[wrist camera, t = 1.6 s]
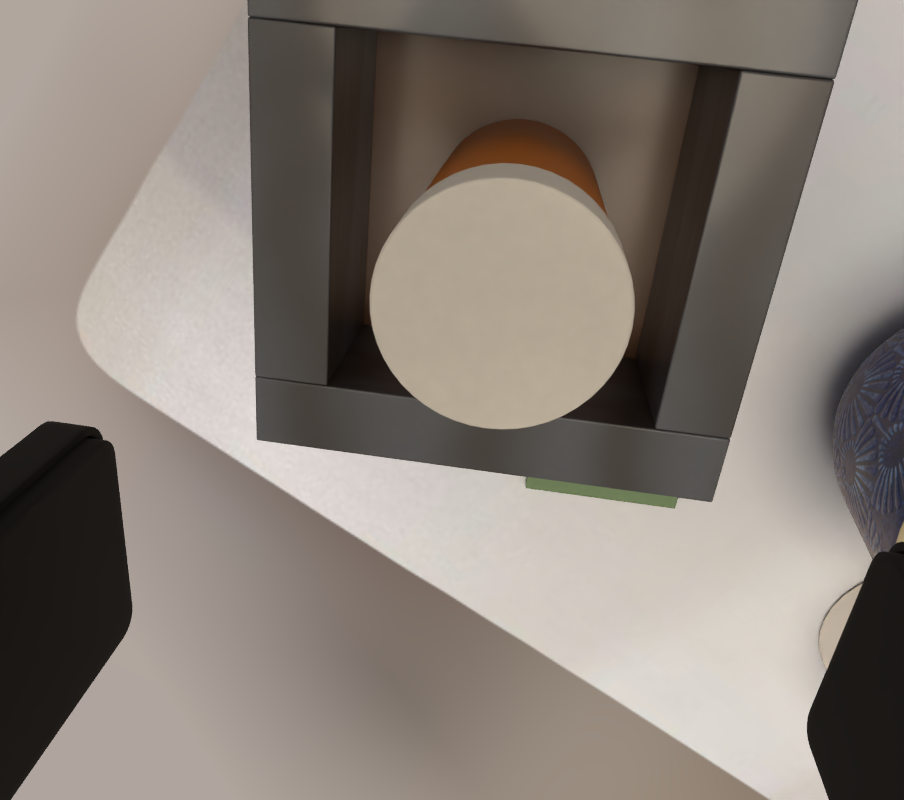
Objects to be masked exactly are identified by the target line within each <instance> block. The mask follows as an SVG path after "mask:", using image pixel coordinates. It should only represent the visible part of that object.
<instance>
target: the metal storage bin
mask: <svg viewBox="0 0 904 800" xmlns="http://www.w3.org/2000/svg"><path fill="white" fill-rule="evenodd" d="M857 3H858V0H248V15H249V16H250V17H249V18H248V47H249V94H250V142H251V189H252V236H253V283H254V330H255V374H256V423H257V440H262V441H269V442H276V443H284V444H291V445H298V446H305V447H313V448H320V449H327V450H335V451H342V452H349V453H357V454H364V455H371V456H379V457H386V458H393V459H400V460H408V461H415V462H422V463H430V464H437V465H444V466H452V467H459V468H466V469H474V470H481V471H488V472H495V473H503V474H510V475H517V476H525V477H532V478H539V479H547V480H554V481H561V482H569V483H576V484H583V485H591V486H598V487H605V488H612V489H620V490H627V491H634V492H642V493H649V494H656V495H664V496H671V497H678V498H686V499H693V500H700V501H707V502H712V500H713V497H714V494H715V490H716V487H717V483H718V480H719V476H720V473H721V470H722V466H723V463H724V459H725V456H726V452H727V449H728V446H729V442H730V439H729V438H730V437H731V435H732V431H733V428H734V424H735V421H736V418H737V414H738V411H739V407H740V404H741V400H742V397H743V394H744V390H745V387H746V383H747V380H748V376H749V373H750V370H751V366H752V363H753V359H754V356H755V352H756V349H757V346H758V342H759V339H760V335H761V332H762V328H763V325H764V322H765V318H766V315H767V311H768V308H769V304H770V301H771V298H772V294H773V291H774V287H775V284H776V280H777V277H778V274H779V270H780V267H781V263H782V260H783V256H784V253H785V250H786V246H787V243H788V239H789V236H790V232H791V229H792V225H793V222H794V219H795V215H796V212H797V208H798V205H799V201H800V198H801V195H802V191H803V188H804V184H805V181H806V177H807V174H808V171H809V167H810V164H811V160H812V157H813V153H814V150H815V147H816V143H817V140H818V136H819V133H820V129H821V126H822V123H823V119H824V116H825V112H826V109H827V105H828V102H829V99H830V95H831V92H832V88H833V85H834V80H832V79H835V77H836V75H837V71H838V68H839V64H840V61H841V58H842V54H843V51H844V47H845V44H846V40H847V37H848V34H849V30H850V27H851V23H852V20H853V16H854V13H855V10H856V6H857ZM511 119H528V120H533V121H538V122H541V123H544V124H547V125H550V126H552V127H554V128H556V129H558V130H560V131H561V132H563V133H564V134H566V135H567V136H568V137H569V138H571V139H572V140H573V141H574V142H575V143H576V144H577V145H578V146H579V148H580V149H581V150H582V151H583V153H584V154H585V156H586V157H587V159H588V161H589V162H590V165H591V167H592V169H593V171H594V174H595V178H596V181H597V184H598V187H599V190H600V193H601V196H602V200H603V203H604V206H605V209H606V212H607V215H608V218H609V220H610V222H611V223H612V225H613V226H614V229H615V231H616V233H617V235H618V237H619V240H620V242H621V245H622V248H623V251H624V254H625V257H626V260H627V263H628V266H629V270H630V273H631V276H632V281H633V288H634V295H635V313H634V321H633V328H632V332H631V335H630V339H629V342H628V346H627V348H626V350H625V352H624V355H623V357H622V359H621V361H620V363H619V364H618V366H617V368H616V369H615V371H614V373H613V374H612V375H611V377H610V378H609V379H608V380H607V382H606V383H605V384H604V385H603V387H601V388H600V389H599V390H598V391H597V392H596V393H595V394H594V395H593V396H592V397H591V398H590V399H588V400H587V401H586V402H584V403H583V404H582V405H580V406H579V407H578V408H576V409H574V410H572V411H571V412H569V413H567V414H565V415H564V416H561V417H559V418H556V419H554V420H552V421H549V422H546V423H543V424H539V425H535V426H531V427H525V428H518V429H489V428H481V427H476V426H471V425H467V424H464V423H461V422H458V421H454V420H452V419H450V418H448V417H445V416H443V415H441V414H439V413H437V412H435V411H434V410H432V409H430V408H429V407H427V406H426V405H424V404H423V403H422V402H420V401H419V400H418V399H416V398H415V397H414V396H413V395H412V394H411V393H410V392H409V391H408V390H407V389H406V388H405V387H404V386H403V385H402V384H401V383H400V382H399V381H398V379H397V378H396V377H395V375H394V374H393V373H392V372H391V370H390V368H389V367H388V365H387V363H386V362H385V360H384V358H383V356H382V354H381V352H380V349H379V347H378V345H377V342H376V339H375V335H374V332H373V329H372V323H371V316H370V288H371V280H372V276H373V272H374V268H375V264H376V262H377V259H378V257H379V254H380V252H381V250H382V247H383V246H384V244H385V242H386V241H387V239H388V237H389V236H390V234H391V232H392V231H393V230H394V228H395V227H396V225H397V224H398V223H399V221H400V220H401V218H402V217H403V216H404V214H405V213H406V212H407V211H408V209H409V208H410V207H411V205H412V204H413V203H414V202H415V201H416V200H417V199H418V198H419V197H420V196H421V195H422V194H423V193H424V192H425V191H426V190H427V188H428V187H429V185H430V184H431V182H432V181H433V179H434V178H435V177H436V175H437V174H438V172H439V171H440V169H441V168H442V166H443V165H444V163H445V162H446V161H447V159H448V158H449V156H450V155H451V154H452V152H453V151H454V150H455V148H456V147H457V146H458V145H459V144H460V143H461V142H462V141H463V140H464V139H465V138H467V137H468V136H469V135H471V134H472V133H473V132H475V131H477V130H479V129H480V128H482V127H484V126H487V125H489V124H492V123H495V122H499V121H503V120H511Z"/></svg>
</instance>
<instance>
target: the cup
mask: <svg viewBox="0 0 904 800" xmlns="http://www.w3.org/2000/svg"><path fill="white" fill-rule="evenodd" d="M861 586H862V584H860V585H858V586H857V587H856V588H854V589H853V590H851V591H850V592H848V593H847V594H845V595H844V596H843V597H842V598H841V599H840V600H839V601H838V602H837V603H836V604H835V605H834V606H833V607H832V608H831V610H830V611H829V613H828V615H827V616H826V618H825V619H824V622H823V625H822V627H821V630H820V635H819V648H820V653H821V657H822V660H823V663H824V665H825V668H826V670H827V668H828V666H829V663H830V661H831V659H832V656H833V654H834V651H835V649H836V646H837V644H838V642H839V639H840V637H841V634H842V632H843V630H844V627H845V625H846V622H847V620H848V618H849V615H850V613H851V610H852V608H853V605H854V603H855V601H856V598H857V596H858V593H859V591H860V589H861Z"/></svg>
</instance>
